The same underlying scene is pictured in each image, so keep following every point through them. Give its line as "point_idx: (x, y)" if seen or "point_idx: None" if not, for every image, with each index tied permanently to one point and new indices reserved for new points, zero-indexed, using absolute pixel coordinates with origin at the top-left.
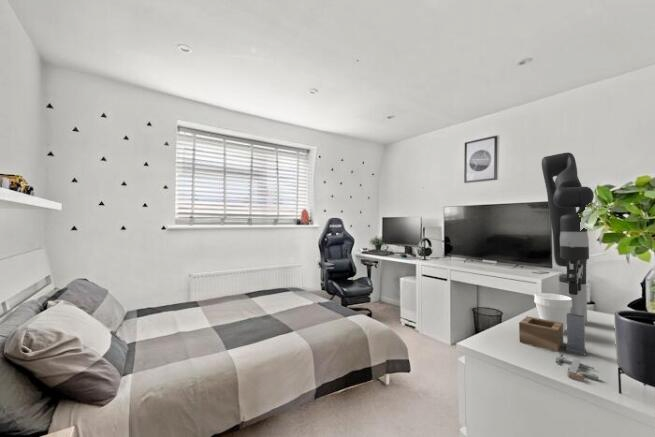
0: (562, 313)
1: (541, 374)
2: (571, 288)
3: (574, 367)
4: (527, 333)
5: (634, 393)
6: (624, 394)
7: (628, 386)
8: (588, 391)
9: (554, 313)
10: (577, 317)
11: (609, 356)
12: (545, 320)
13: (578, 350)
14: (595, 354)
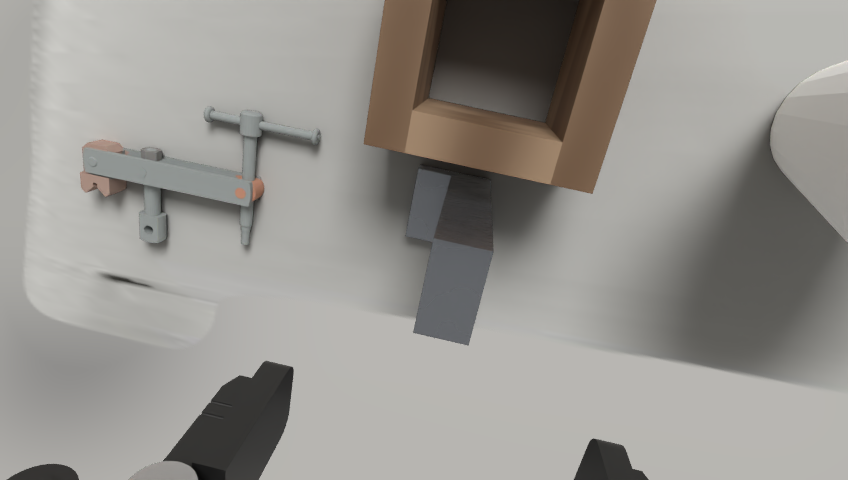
0: (831, 218)
1: (42, 43)
2: (202, 426)
3: (142, 173)
4: None
5: (137, 313)
6: (105, 286)
7: (182, 311)
8: (34, 191)
9: (826, 159)
10: (422, 296)
11: None
12: (609, 80)
13: (415, 217)
14: None
